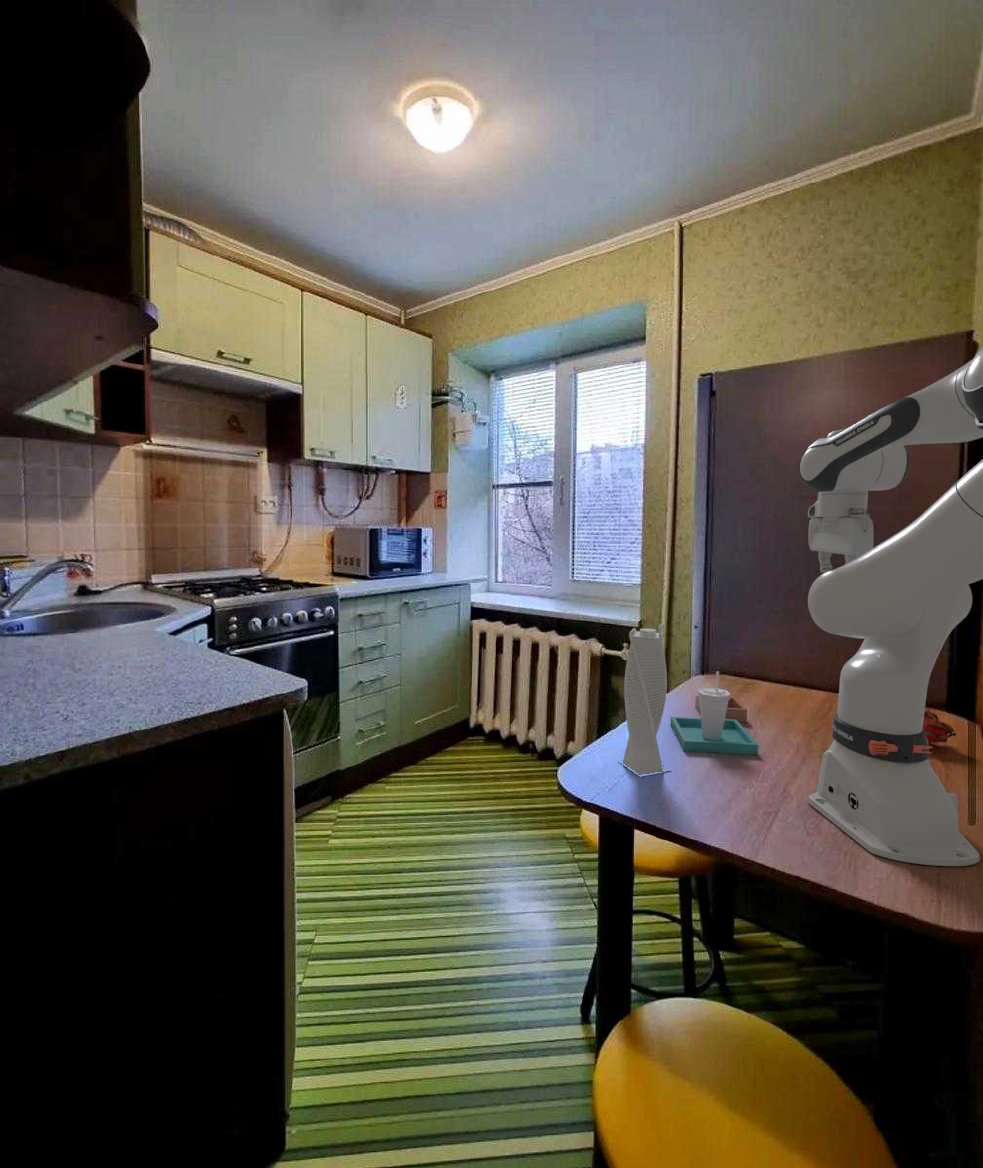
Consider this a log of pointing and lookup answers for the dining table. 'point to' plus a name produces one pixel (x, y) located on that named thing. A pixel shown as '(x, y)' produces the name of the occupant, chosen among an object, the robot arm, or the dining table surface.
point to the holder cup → (730, 710)
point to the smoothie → (713, 710)
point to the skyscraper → (645, 699)
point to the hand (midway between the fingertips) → (836, 575)
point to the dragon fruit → (936, 729)
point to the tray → (730, 742)
